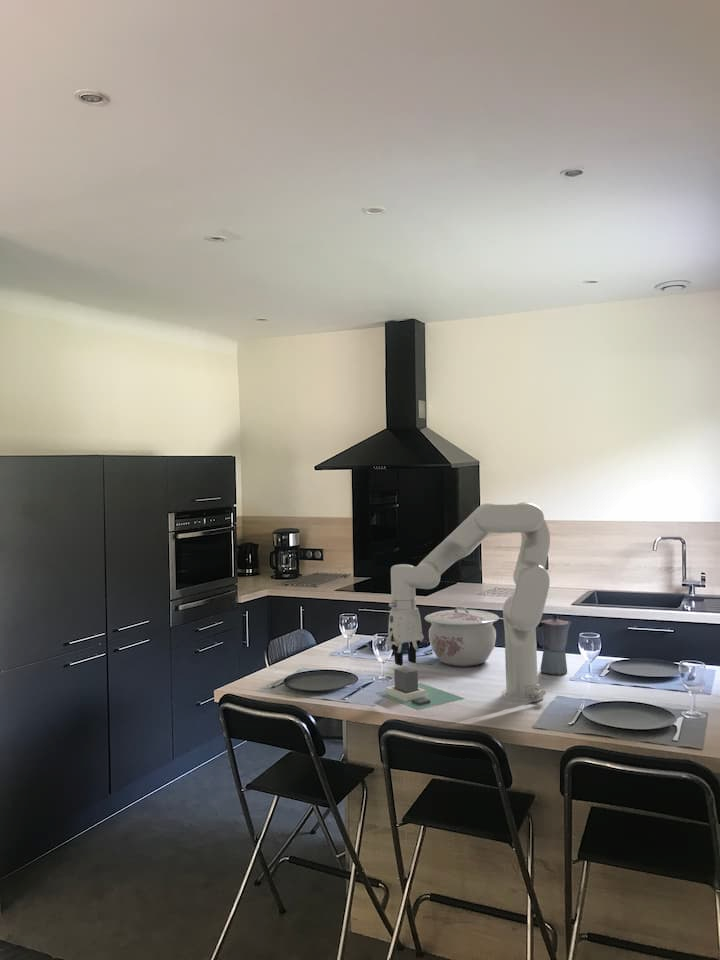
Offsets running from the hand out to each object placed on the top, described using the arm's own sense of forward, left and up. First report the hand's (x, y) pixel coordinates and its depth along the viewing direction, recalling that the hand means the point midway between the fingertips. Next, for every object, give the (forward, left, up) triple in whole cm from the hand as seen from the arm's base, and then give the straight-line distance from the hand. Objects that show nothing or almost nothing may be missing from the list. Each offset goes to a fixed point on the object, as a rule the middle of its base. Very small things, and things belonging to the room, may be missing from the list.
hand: (405, 662), depth 234 cm
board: (-3, -3, -11) cm, 12 cm away
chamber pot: (+24, -44, -12) cm, 52 cm away
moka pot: (-7, -58, -12) cm, 60 cm away
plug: (0, 0, -10) cm, 10 cm away
